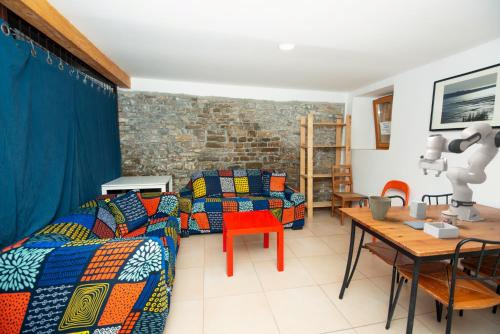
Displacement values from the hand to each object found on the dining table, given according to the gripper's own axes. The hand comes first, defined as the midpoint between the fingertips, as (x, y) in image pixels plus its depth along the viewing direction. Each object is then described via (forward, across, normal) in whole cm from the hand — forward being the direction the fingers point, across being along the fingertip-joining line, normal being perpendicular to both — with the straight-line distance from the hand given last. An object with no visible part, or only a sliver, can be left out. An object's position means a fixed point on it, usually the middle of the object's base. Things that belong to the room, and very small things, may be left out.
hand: (431, 175), depth 165 cm
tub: (+34, -24, +14) cm, 44 cm away
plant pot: (+34, +7, +34) cm, 49 cm away
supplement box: (+34, +7, +1) cm, 35 cm away
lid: (+34, -10, +15) cm, 38 cm away
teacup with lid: (+34, -12, -7) cm, 37 cm away
